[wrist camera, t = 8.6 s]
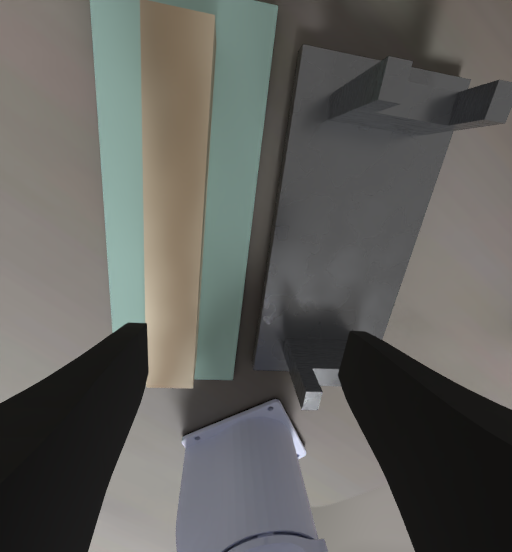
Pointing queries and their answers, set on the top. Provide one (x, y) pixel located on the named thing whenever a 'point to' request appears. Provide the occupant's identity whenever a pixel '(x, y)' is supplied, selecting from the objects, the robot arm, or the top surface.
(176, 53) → the ash bar
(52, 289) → the top surface
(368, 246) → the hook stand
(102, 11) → the sage mat
